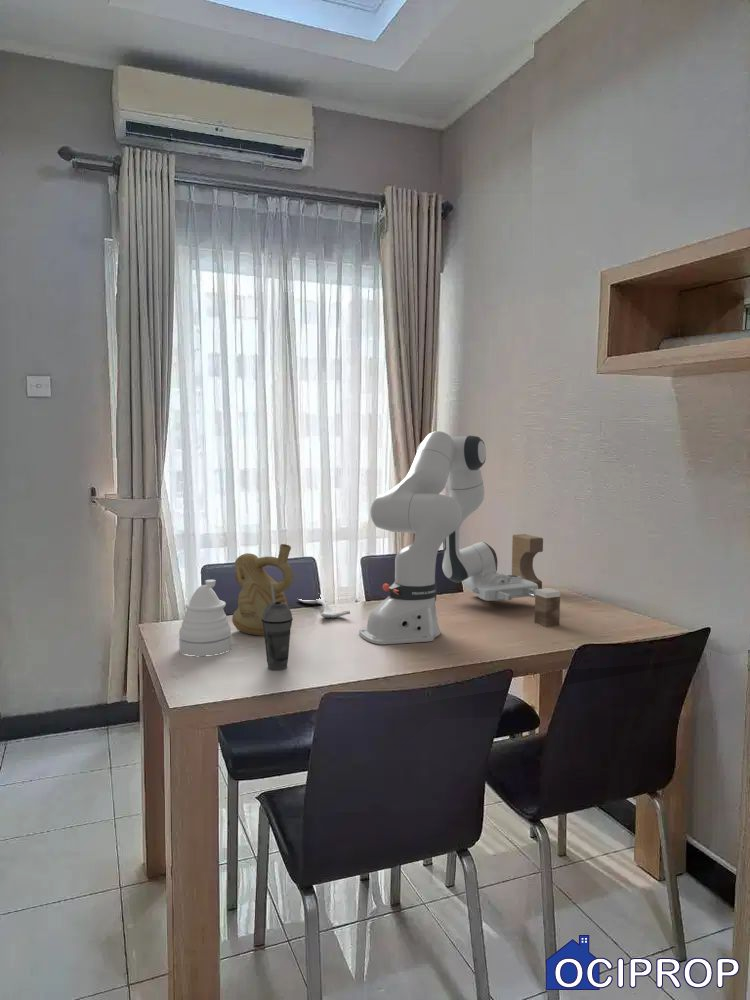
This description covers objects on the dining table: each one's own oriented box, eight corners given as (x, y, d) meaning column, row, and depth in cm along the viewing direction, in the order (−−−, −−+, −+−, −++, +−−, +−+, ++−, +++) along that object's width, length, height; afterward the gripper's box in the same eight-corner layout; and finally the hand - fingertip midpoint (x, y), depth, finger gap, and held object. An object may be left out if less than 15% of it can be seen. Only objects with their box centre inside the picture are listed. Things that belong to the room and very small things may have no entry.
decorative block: (542, 594, 239) (544, 537, 237) (528, 596, 237) (530, 538, 235) (524, 588, 249) (525, 533, 247) (510, 589, 247) (511, 534, 245)
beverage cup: (292, 672, 158) (291, 586, 157) (260, 672, 158) (259, 587, 156) (293, 661, 166) (293, 580, 164) (263, 662, 165) (262, 580, 163)
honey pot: (241, 645, 179) (240, 577, 177) (210, 659, 167) (208, 587, 166) (201, 639, 184) (200, 573, 183) (168, 653, 172) (166, 582, 171)
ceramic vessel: (254, 619, 205) (253, 536, 203) (309, 628, 196) (308, 541, 194) (215, 633, 190) (214, 543, 188) (273, 643, 181) (272, 549, 179)
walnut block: (545, 627, 198) (546, 592, 197) (534, 622, 202) (535, 589, 201) (559, 625, 200) (560, 591, 199) (548, 621, 204) (549, 588, 203)
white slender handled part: (322, 624, 201) (322, 612, 200) (294, 600, 230) (294, 590, 230) (351, 621, 204) (351, 610, 204) (319, 598, 234) (319, 588, 233)
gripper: (469, 580, 220) (494, 588, 207) (522, 575, 228) (549, 583, 215) (469, 599, 220) (494, 609, 208) (522, 593, 229) (548, 602, 216)
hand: (522, 596), depth 212 cm, fingers open, 8 cm apart
